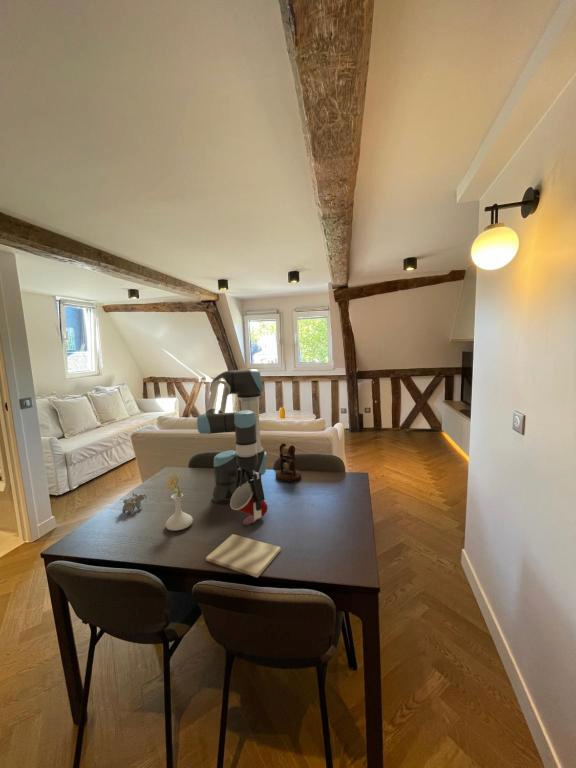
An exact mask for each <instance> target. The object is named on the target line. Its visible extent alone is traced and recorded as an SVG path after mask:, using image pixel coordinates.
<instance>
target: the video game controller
mask: <svg viewBox="0 0 576 768" xmlns="http://www.w3.org/2000/svg"><path fill="white" fill-rule="evenodd" d="M260 518H261V517H260ZM260 518H258V519H256V520H255V519H254V516H253V515H249V514H248V516H247V517H246V518H244V519H243V521H242V522H243V525H245V526H247V525H250V524H255V522H256V521H258V520H260Z"/></svg>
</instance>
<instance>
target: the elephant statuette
mask: <svg viewBox="0 0 576 768" xmlns="http://www.w3.org/2000/svg"><path fill="white" fill-rule="evenodd" d="M145 499H147V496H146V494H145V493H141V494H139V493H135V492H132V496H130V497H128V499H126V498H125V499H124V500H123V506H122V510H121V512H122V513H123V514H125V513H126V512H129V513H130V515H131V516H135V514H136V513H135V511H134V509H135V508H136V509H137V511H138V512H141V511H142V510H143V509H142V501H144V500H145Z"/></svg>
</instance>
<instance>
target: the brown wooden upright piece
mask: <svg viewBox="0 0 576 768" xmlns="http://www.w3.org/2000/svg"><path fill="white" fill-rule="evenodd" d="M279 458H280V461H279V463H280V464H279V466H280V470H278V471H277V472H276V473H275V478H276V480H278V481H279V480H280V481H281V482H282V481H284V482H288V483H289V484H290V483H291V482H292V481H296V480H298V479H300V478H301V477H302V472H301V471H300V470H298V469H297V464H296V460H297V458H296V447H295V445H293V444H292V445H290V446H287V445H286V443H284V442H283V443H281V445H280V446H279Z"/></svg>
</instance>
